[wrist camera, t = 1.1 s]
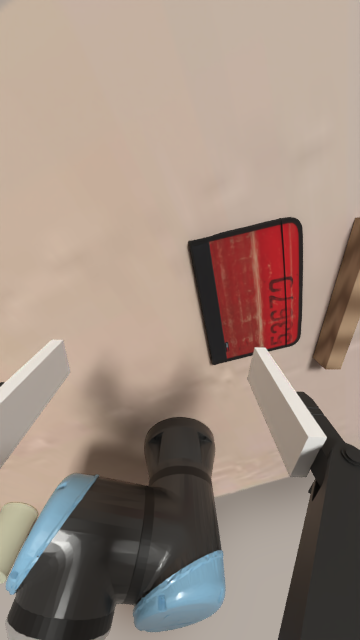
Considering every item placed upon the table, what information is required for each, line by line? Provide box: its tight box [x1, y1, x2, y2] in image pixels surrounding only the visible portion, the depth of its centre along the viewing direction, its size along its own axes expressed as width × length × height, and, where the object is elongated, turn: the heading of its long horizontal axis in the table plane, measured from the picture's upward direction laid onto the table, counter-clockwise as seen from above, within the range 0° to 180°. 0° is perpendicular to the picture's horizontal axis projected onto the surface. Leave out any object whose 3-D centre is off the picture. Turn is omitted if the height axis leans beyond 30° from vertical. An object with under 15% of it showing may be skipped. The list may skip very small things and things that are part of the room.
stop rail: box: [313, 218, 360, 369], centre depth 32 cm, size 23×2×4 cm, turn 0°
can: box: [0, 502, 38, 584], centre depth 51 cm, size 9×9×12 cm
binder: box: [188, 217, 303, 365], centre depth 33 cm, size 16×2×21 cm
